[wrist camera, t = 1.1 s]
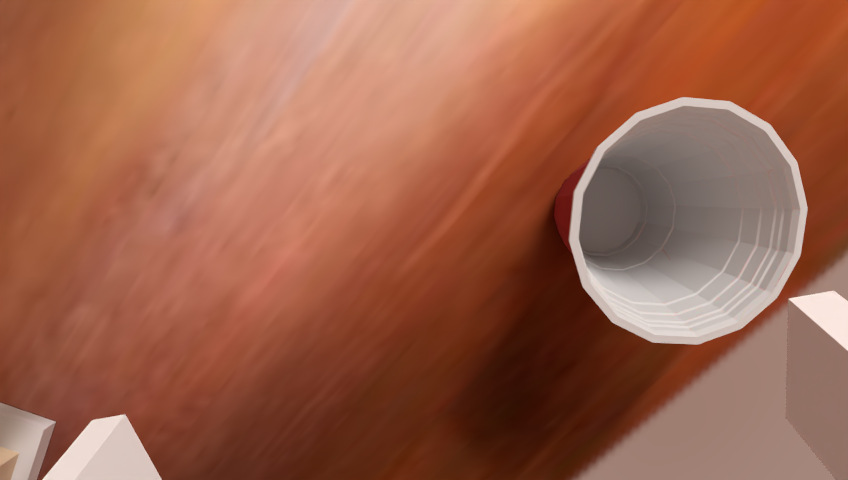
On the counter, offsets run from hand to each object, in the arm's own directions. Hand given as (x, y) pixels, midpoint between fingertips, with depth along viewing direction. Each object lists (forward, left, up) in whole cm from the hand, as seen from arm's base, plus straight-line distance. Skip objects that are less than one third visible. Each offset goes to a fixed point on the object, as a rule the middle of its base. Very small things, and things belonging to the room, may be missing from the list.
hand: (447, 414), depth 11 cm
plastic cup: (+4, +11, -25) cm, 28 cm away
